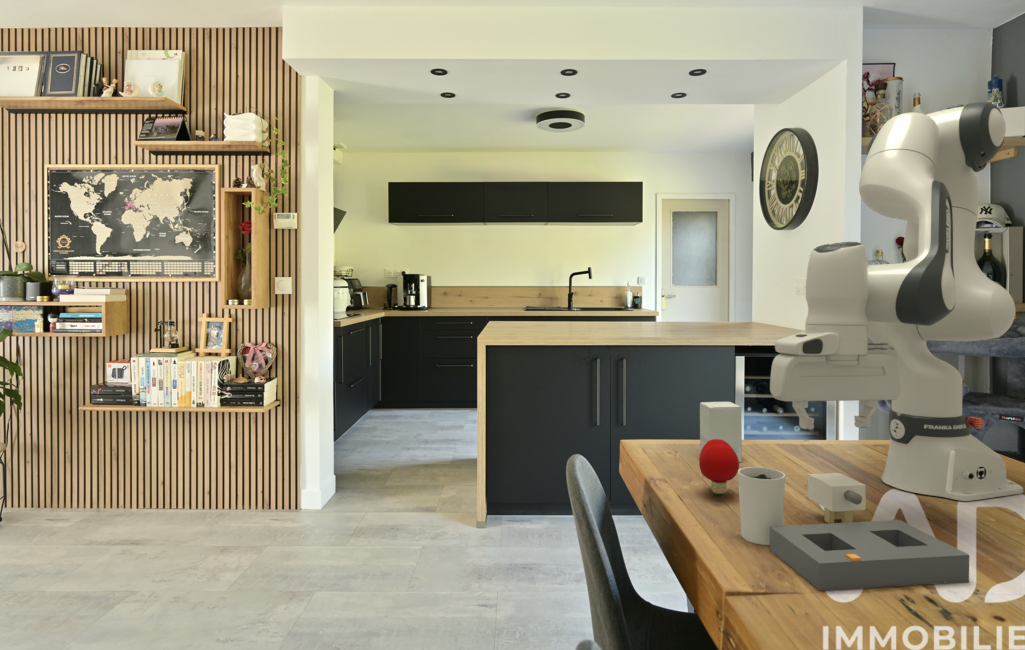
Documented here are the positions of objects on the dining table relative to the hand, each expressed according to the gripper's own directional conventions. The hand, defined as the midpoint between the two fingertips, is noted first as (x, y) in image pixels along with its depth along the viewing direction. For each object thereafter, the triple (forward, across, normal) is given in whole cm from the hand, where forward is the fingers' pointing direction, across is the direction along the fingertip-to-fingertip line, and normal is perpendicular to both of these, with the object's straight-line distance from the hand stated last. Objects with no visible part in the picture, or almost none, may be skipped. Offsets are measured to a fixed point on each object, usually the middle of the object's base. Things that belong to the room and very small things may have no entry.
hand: (834, 428), depth 94 cm
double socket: (+16, +5, +15) cm, 22 cm away
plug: (+16, -1, +1) cm, 16 cm away
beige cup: (+16, +14, +4) cm, 22 cm away
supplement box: (+15, +1, -39) cm, 42 cm away
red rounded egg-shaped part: (+16, +12, -15) cm, 25 cm away
